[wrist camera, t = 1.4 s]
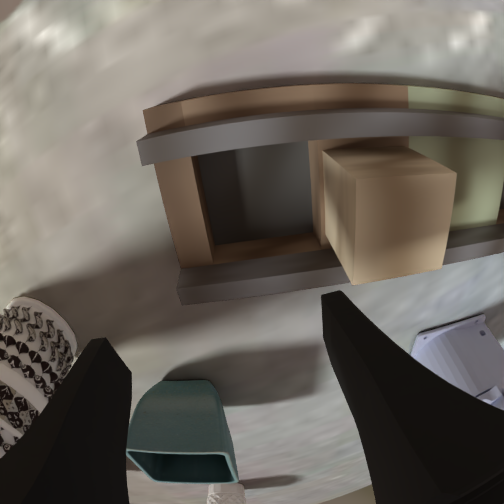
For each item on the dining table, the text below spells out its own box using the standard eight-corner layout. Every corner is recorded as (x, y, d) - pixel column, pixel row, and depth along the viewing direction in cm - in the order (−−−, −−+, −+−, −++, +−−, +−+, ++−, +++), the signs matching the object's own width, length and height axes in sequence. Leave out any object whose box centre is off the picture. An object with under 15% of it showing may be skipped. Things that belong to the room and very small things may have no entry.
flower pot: (227, 364, 27) (228, 453, 20) (237, 412, 32) (239, 484, 24) (136, 366, 27) (118, 448, 19) (160, 413, 32) (152, 481, 24)
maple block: (405, 146, 16) (456, 173, 11) (400, 224, 18) (441, 268, 14) (322, 150, 16) (356, 179, 11) (325, 234, 18) (352, 285, 14)
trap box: (543, 108, 16) (579, 121, 12) (527, 227, 22) (555, 250, 18) (154, 106, 16) (130, 114, 12) (194, 278, 22) (187, 321, 18)
